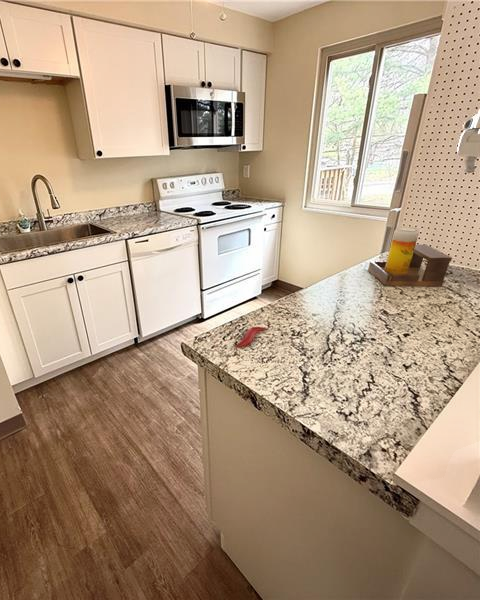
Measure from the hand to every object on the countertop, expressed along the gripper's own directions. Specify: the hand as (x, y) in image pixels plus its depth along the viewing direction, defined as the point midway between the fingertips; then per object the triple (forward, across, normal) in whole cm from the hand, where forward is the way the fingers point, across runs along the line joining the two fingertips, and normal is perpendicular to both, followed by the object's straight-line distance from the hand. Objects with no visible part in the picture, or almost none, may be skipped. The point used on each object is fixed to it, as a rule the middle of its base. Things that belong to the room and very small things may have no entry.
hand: (479, 174), depth 89 cm
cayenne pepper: (+31, -45, +64) cm, 84 cm away
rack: (+31, -3, +13) cm, 34 cm away
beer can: (+30, -3, +16) cm, 34 cm away
